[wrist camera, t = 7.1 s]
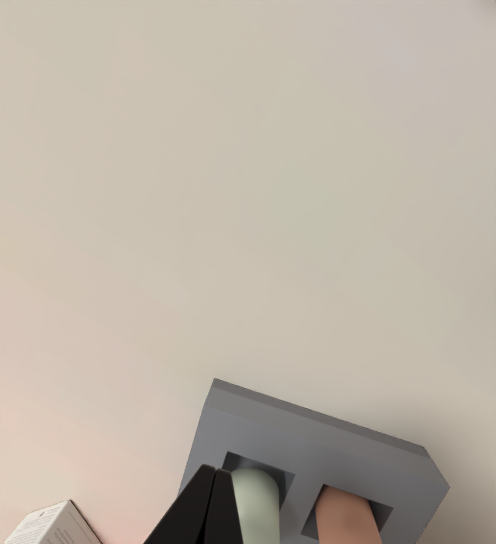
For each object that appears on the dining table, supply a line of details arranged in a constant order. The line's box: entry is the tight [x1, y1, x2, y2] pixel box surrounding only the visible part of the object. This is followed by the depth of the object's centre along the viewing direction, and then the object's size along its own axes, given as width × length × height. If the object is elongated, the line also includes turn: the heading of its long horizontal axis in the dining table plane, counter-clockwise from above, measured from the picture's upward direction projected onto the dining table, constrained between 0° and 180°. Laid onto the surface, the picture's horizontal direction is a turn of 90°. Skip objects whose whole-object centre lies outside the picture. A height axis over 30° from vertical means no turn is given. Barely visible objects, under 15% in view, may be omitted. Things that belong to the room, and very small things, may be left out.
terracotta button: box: [314, 484, 382, 544], centre depth 18 cm, size 4×4×3 cm
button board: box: [177, 378, 450, 544], centre depth 20 cm, size 17×19×3 cm
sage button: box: [231, 467, 280, 544], centre depth 17 cm, size 4×4×3 cm
